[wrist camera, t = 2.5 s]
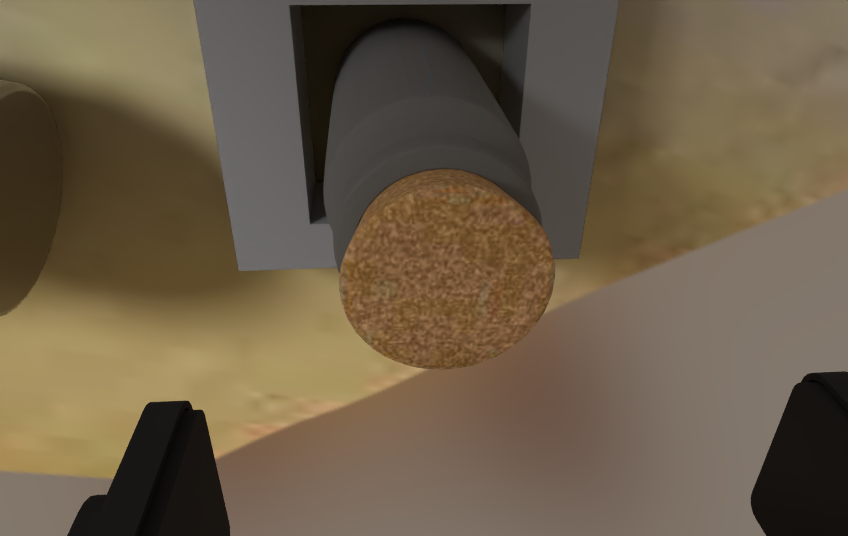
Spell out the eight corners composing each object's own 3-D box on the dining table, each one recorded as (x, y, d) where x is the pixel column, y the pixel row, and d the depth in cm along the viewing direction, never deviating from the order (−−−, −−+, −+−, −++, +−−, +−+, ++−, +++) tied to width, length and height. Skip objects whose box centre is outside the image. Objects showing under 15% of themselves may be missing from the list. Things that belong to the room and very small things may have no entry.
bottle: (364, -9, 24) (370, 117, 12) (498, 51, 26) (634, 218, 13) (315, 129, 27) (276, 353, 14) (440, 175, 29) (506, 415, 16)
